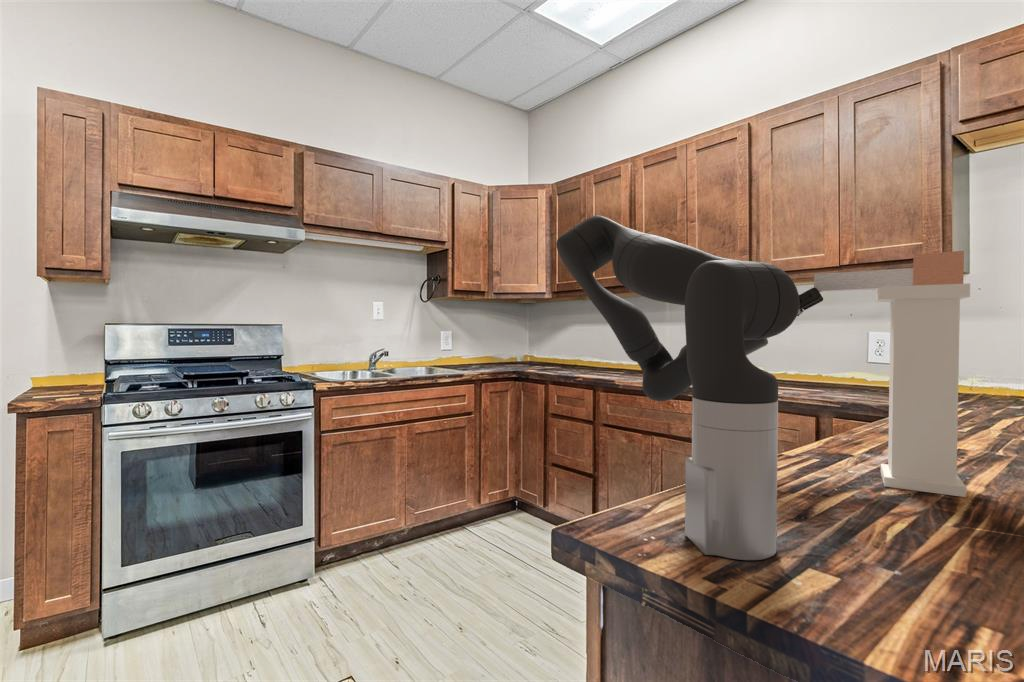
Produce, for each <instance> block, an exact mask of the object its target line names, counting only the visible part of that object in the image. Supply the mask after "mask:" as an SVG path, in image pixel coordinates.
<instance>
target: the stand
mask: <svg viewBox="0 0 1024 682" xmlns="http://www.w3.org/2000/svg"><path fill="white" fill-rule="evenodd" d="M875 292H876V295H875V297H876V298H875V301H876V303H889V302H890V312H889V313H890V316H889V317H890V318H889V322H890V323H889V324H890V325H889V374H888V376H889V381H888V383H889V384H888V385H889V386H888V387H889V389H888V390H889V391H888V438H887V439H888V441H887V442H888V443H887V444H888V446H887V447H888V450H887V451H888V452H887V463H880V475H881V479H882V482H883V483H882V484H883V487H887V488H892V489H893V488H894V489H901V490H902V489H903V490H908V491H909V490H910V491H915V492H916V491H917V492H925V493H933V494H941V495H946V496H955V497H961V498H966V497H967V486H966V485H965V483H964V482H963V481H962V480H961V478H960V477H959V475H958V430H959V429H958V428H959V427H958V421H959V420H958V419H959V415H958V414H959V375H960V374H959V371H960V370H959V369H960V368H959V365H960V364H959V361H960V319H961V317H960V315H961V313H960V310H961V309H960V308H961V305H960V304H961V300H964V299H967V298H970V297H971V283H963V284H942V285H914V286H887V287H879V288H878V289H877V290H875Z"/></svg>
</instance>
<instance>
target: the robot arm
mask: <svg viewBox="0 0 1024 682" xmlns="http://www.w3.org/2000/svg"><path fill="white" fill-rule="evenodd" d="M555 246H556V249H557V253H558V255H559V257H560V259H561V261H562V262H563V264H564V266H565V267H566V269H567V271H568V272H569V274H570V275H571V276H572V277H573V279H574V280H575V281H576V282H577V283H576V284H578V285H579V287H580V288H581V289H582V291H583V293H584V294H585V295H586V296H587V297H588V299H589V300H590V301H591V303H592V305H594V307H595V308H596V309H597V310H598V312H599V313H600V314H601V315H602V316H603V319H605V321H606V322H607V324H608V325H609V327H610V328H611V330H612V331H613V333H614V335H615V337H616V338H617V340H618V342H619V344H620V345H621V348H622V349H623V350H624V352H625V354H626V355H627V357H628V358H629V359H630V360H631V361H633V362H637V364H638V366H639V367H640V369H641V372H642V375H643V376H642V390H643V393H644V394H645V396H646V397H647V398H648V399H649V400H651V401H655V402H667V401H670V400H673V399H675V398H676V397H678V396H680V395H681V394H683V393H684V392H685V391H686V390H687V389H689V388H690V387H691V389H692V391H691V392H692V404H691V405H692V408H691V409H692V412H691V413H692V414H691V415H692V417H691V419H692V420H691V421H692V422H691V423H692V424H691V425H692V426H691V457H688V456H687V457H686V458H685V471H684V472H685V480H684V481H685V485H684V486H685V487H684V488H685V489H684V492H685V497H684V499H685V500H684V502H685V503H684V507H685V508H684V514H685V515H684V516H685V517H684V535H685V536H686V537H688V539H689V540H690V541H691V542H692V543H693V544H694V545H695V547H697V549H699V550H700V552H701V553H703V555H705V556H719V557H723V558H725V559H726V558H727V559H734V560H741V561H760V560H765V559H769V558H771V557H774V555H775V554H776V553H777V537H778V530H777V527H778V525H777V523H778V522H777V521H778V517H777V516H778V514H777V513H778V450H779V449H778V446H779V445H778V443H779V441H778V439H779V438H778V437H779V435H778V434H779V433H778V432H779V431H778V429H779V401H778V400H779V382H778V378H777V377H776V376H775V375H774V374H772V373H771V372H768V371H765V370H763V369H761V368H759V367H757V366H756V365H754V364H753V363H752V361H750V360H749V358H748V357H747V356H748V355H750V354H752V353H754V352H755V351H758V350H760V349H762V348H764V347H766V346H767V345H768V344H769V340H768V339H769V338H771V337H775V336H778V335H779V334H781V333H783V332H784V331H785V330H787V329H788V328H789V327H790V326H791V325H792V324H793V323H794V321H795V320H796V319H797V317H799V316H800V315H802V314H803V313H804V311H806V310H809V309H810V308H813V307H814V306H815V305H818V304H819V303H821V302H823V301H824V297H823V296H822V294H821V292H819V291H818V290H817V288H814V287H812V288H810V289H807V290H806V291H803V293H801V294H799V291H798V288H797V286H796V284H795V282H794V280H793V279H792V277H790V275H789V274H787V272H785V271H784V270H783V269H782V268H780V267H778V266H776V265H775V264H772V263H769V262H762V261H753V260H752V261H751V260H749V261H748V260H738V259H731V258H726V257H721V256H716V255H713V254H711V253H708V252H706V251H703V250H701V249H698V248H695V247H693V246H691V245H687V244H685V243H681V242H678V241H675V240H672V239H669V238H666V237H663V236H660V235H655V234H651V233H646V232H642V231H639V230H636V229H633V228H630V227H626V226H624V225H622V224H620V223H618V222H616V221H614V220H612V219H610V218H608V217H605V216H602V215H597V214H596V215H593V216H590V217H588V218H585V219H584V220H582V221H581V222H580V223H578V224H577V225H575V226H573V227H572V228H570V229H569V230H567V231H565V233H563V234H561V236H559V237H558V238H557V240H556V245H555ZM610 262H611V263H612V269H613V274H614V276H615V278H616V280H617V281H618V283H620V284H621V286H623V287H624V288H626V289H628V290H629V291H631V292H632V293H635V294H636V295H637V294H638V295H640V296H642V297H644V298H646V299H649V300H653V301H658V302H661V303H667V304H672V305H679V306H684V324H685V325H684V326H685V327H684V328H685V345H684V346H683V347H682V348H681V349H680V351H679V352H678V355H677V356H676V357H675V358H673V356H672V355H671V353H670V352H669V351H668V349H667V348H666V347H665V346H664V344H662V343H661V341H660V340H659V338H658V336H657V333H656V332H655V330H654V328H653V327H652V325H651V323H650V321H649V319H648V318H647V315H646V314H645V313H644V311H642V310H641V308H639V307H638V306H636V305H634V304H633V303H632V302H629V301H628V300H626V299H623V298H622V297H620V296H617V295H616V294H614V293H613V292H611V291H609V290H608V289H607V288H605V287H603V285H601V283H600V282H599V281H598V279H596V277H595V276H594V273H595V272H597V271H598V270H599V269H601V268H602V267H604V266H605V265H607V264H609V263H610Z"/></svg>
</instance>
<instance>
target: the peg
mask: <svg viewBox="0 0 1024 682" xmlns="http://www.w3.org/2000/svg"><path fill="white" fill-rule="evenodd" d="M912 259H913V261H912V262H913V267H908V268H893V269H889V268H888V269H879V270H878V269H877V270H876V269H874V270H858V271H846V272H844V271H843V272H829V273H827V272H826V273H824V272H823V273H813V288H817V290H818V291H819V292H820V293H821V292H822V293H826V292H828V293H829V292H845V291H846V292H847V291H848V292H849V291H851V292H853V291H870V290H871V291H873V290H875V291H877V289H878V288H879V287H887V286H914V285H942V284H964V275H965V274H964V271H965V269H964V268H965V267H964V263H965V262H964V261H965V250H957V251H956V250H955V251H941V252H927V253H916V254H915V253H914V254H913V258H912Z"/></svg>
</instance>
